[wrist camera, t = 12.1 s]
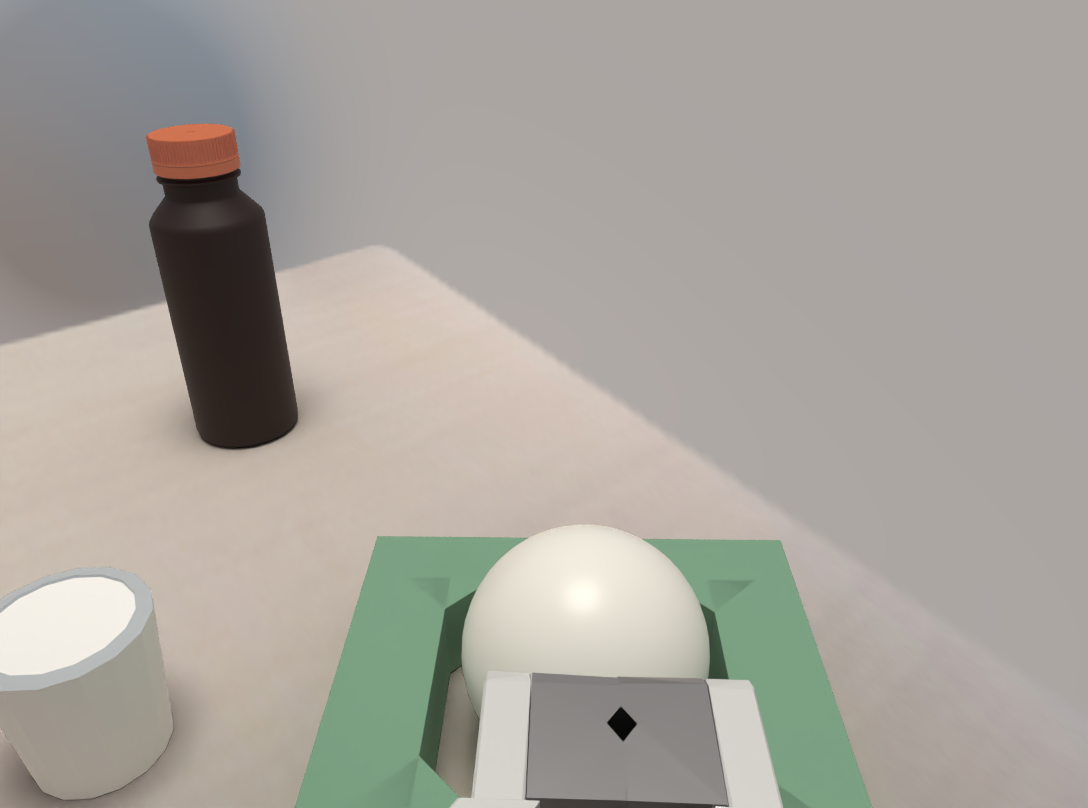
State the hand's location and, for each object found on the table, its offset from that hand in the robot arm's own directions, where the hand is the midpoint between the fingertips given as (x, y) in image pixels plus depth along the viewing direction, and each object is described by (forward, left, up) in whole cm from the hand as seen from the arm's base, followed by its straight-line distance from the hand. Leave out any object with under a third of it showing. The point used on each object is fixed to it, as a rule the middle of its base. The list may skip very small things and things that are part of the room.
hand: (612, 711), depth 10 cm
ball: (+15, +12, -18) cm, 26 cm away
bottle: (+20, +46, -23) cm, 55 cm away
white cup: (+1, +27, -23) cm, 36 cm away
